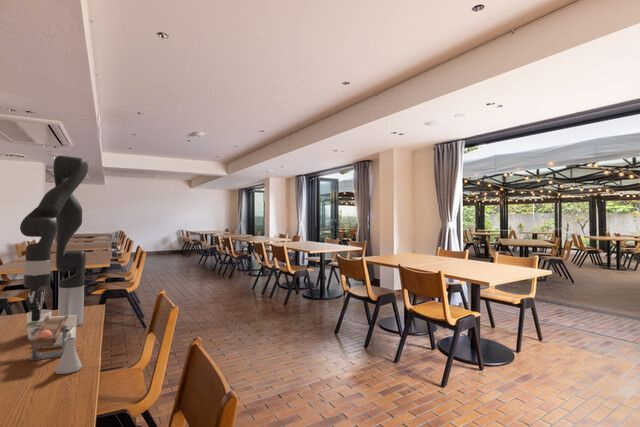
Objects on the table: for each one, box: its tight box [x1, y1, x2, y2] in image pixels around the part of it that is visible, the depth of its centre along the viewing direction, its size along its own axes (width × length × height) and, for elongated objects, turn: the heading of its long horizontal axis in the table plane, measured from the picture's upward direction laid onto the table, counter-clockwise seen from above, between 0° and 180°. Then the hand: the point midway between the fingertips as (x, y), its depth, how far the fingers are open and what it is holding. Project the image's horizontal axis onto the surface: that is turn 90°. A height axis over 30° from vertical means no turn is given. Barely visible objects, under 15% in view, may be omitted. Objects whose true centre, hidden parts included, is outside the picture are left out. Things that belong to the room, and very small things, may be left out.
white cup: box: [26, 309, 53, 340], centre depth 140 cm, size 8×8×10 cm
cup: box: [41, 315, 77, 349], centre depth 135 cm, size 10×9×9 cm
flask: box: [54, 337, 83, 375], centre depth 112 cm, size 7×7×10 cm
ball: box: [39, 330, 52, 338], centre depth 116 cm, size 4×4×4 cm
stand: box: [28, 326, 69, 362], centre depth 122 cm, size 5×11×10 cm, turn 115°
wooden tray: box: [25, 314, 68, 349], centre depth 121 cm, size 18×12×3 cm, turn 25°
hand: (35, 320), depth 126 cm, fingers closed
